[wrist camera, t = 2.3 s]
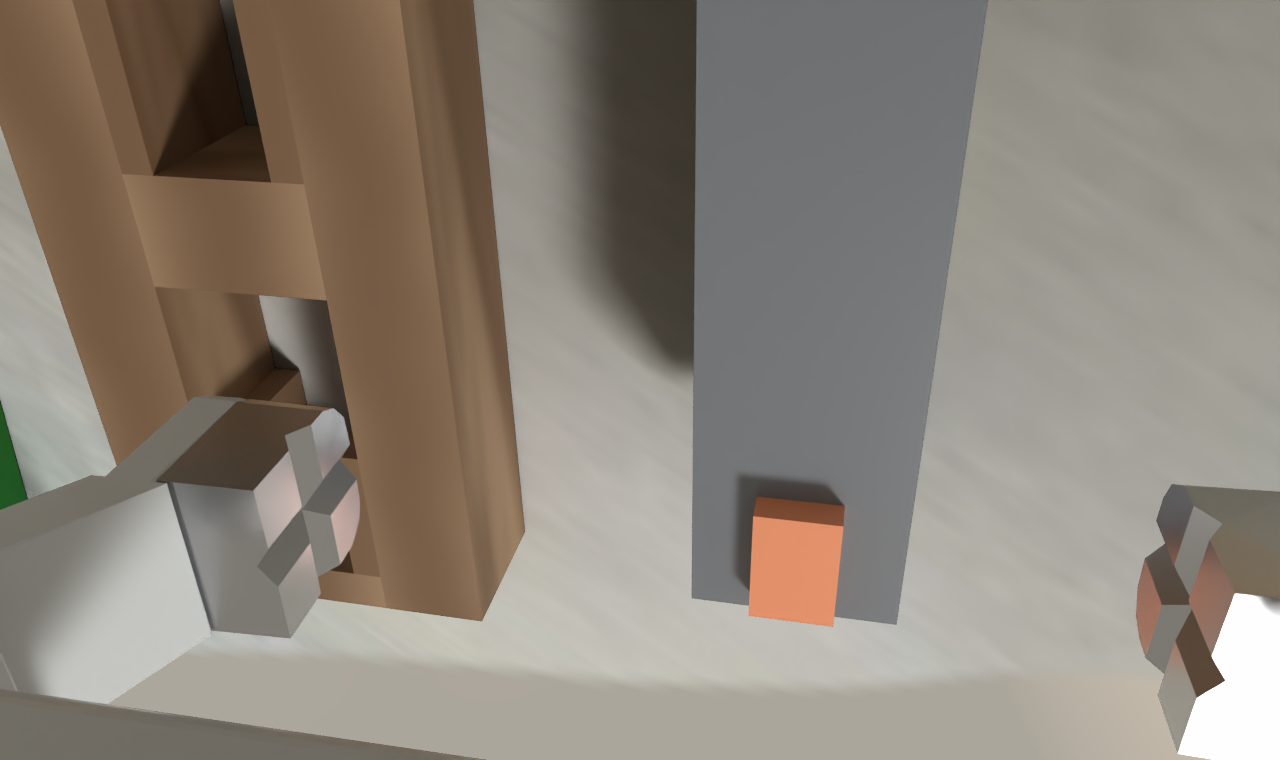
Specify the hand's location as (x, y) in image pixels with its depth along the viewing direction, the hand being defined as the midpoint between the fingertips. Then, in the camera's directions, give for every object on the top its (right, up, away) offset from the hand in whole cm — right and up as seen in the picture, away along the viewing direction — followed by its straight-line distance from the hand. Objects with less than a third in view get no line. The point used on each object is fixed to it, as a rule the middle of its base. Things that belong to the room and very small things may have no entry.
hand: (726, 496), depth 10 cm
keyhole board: (-9, +6, +13) cm, 17 cm away
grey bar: (+3, +6, +10) cm, 12 cm away
